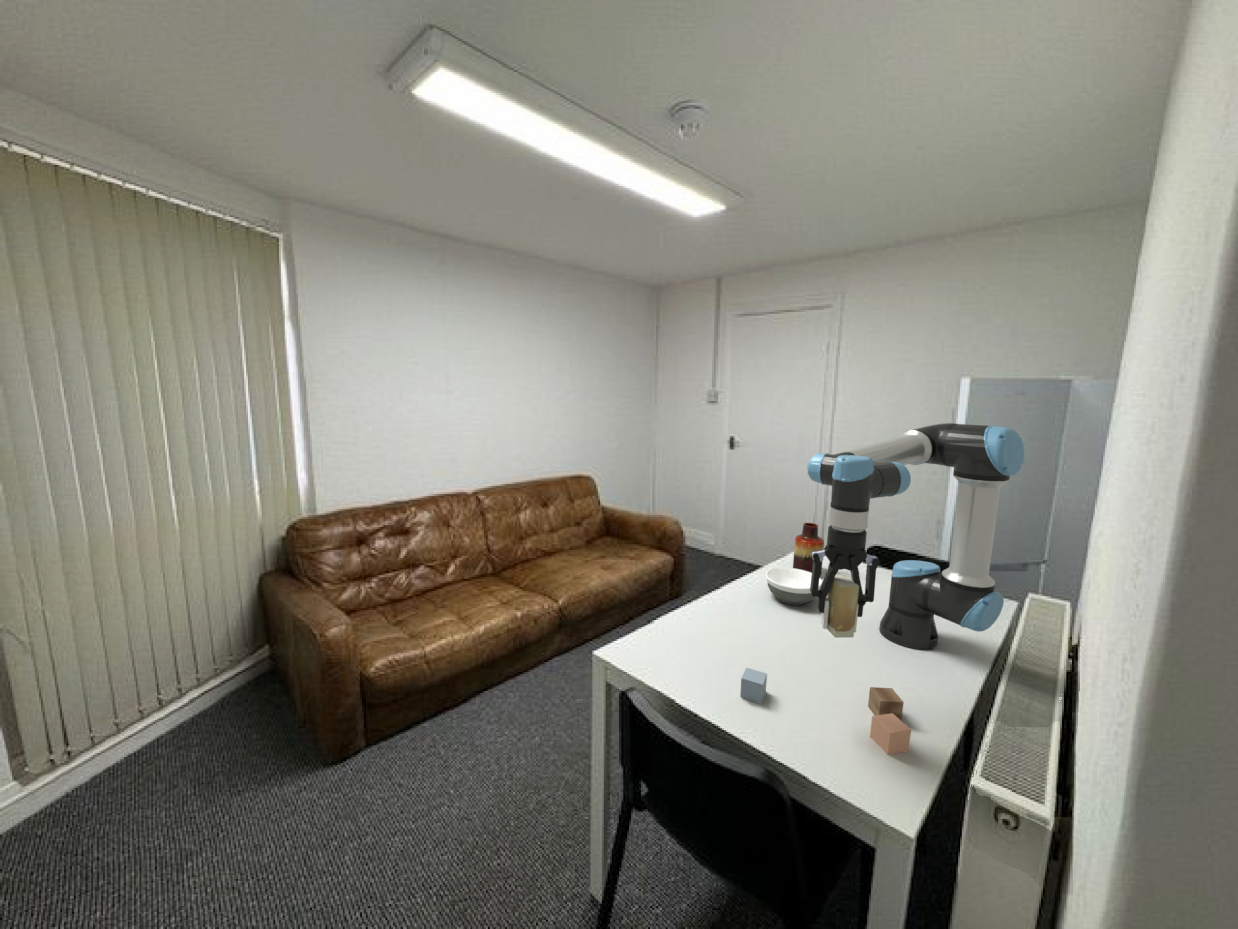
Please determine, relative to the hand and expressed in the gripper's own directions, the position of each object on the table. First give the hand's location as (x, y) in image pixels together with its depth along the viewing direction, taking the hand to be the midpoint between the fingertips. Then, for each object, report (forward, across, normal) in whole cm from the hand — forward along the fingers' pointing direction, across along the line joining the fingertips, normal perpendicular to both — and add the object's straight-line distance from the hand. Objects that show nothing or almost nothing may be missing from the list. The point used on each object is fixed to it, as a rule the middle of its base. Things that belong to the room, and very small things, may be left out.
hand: (838, 627), depth 106 cm
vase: (+21, -8, -87) cm, 90 cm away
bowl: (+21, +1, -60) cm, 64 cm away
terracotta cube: (+21, -10, +8) cm, 24 cm away
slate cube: (+21, +17, -2) cm, 27 cm away
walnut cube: (+21, -12, -2) cm, 24 cm away
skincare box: (+1, 0, 0) cm, 1 cm away
